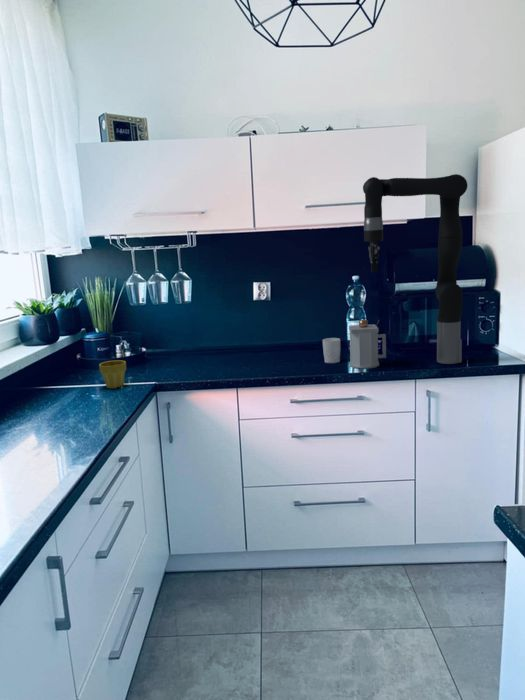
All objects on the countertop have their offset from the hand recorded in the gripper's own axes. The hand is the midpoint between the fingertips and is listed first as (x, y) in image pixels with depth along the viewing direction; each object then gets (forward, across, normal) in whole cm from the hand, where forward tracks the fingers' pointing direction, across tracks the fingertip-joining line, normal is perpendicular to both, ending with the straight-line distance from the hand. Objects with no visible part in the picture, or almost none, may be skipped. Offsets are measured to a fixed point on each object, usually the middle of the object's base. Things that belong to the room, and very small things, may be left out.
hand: (374, 272), depth 224 cm
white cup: (+39, +10, +18) cm, 44 cm away
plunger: (+36, 0, +5) cm, 36 cm away
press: (+39, 0, +4) cm, 39 cm away
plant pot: (+39, -19, +107) cm, 116 cm away
